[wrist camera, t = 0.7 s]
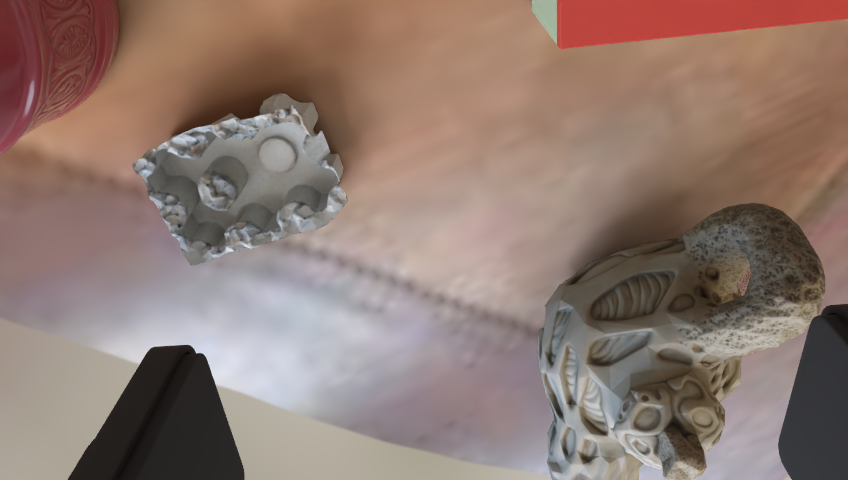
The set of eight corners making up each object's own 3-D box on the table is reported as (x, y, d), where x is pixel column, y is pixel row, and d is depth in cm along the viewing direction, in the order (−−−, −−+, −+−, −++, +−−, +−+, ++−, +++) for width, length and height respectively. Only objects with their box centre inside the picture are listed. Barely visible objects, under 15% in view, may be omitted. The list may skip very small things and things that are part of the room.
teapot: (610, 421, 48) (676, 625, 35) (471, 375, 46) (486, 573, 33) (795, 184, 38) (985, 344, 25) (629, 112, 36) (741, 244, 23)
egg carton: (309, 78, 35) (296, 100, 32) (359, 193, 39) (352, 225, 35) (143, 135, 37) (112, 162, 33) (204, 241, 40) (183, 276, 37)
